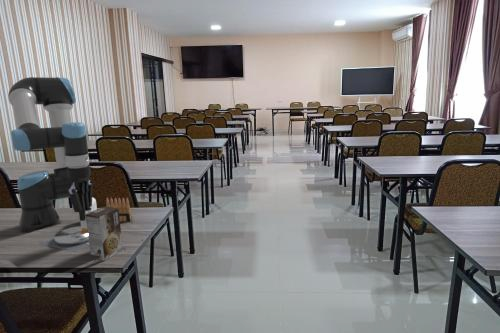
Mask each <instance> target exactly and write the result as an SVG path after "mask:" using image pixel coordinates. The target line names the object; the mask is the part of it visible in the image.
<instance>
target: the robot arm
mask: <svg viewBox="0 0 500 333" xmlns="http://www.w3.org/2000/svg"><path fill="white" fill-rule="evenodd" d="M7 95H8V96H7V97H8V102H9V103H10V105H11V106H12V108H13V114H14V120H15V126H16V129H13V130H11V132H10V134H11V139H12V140H11V141H12V147H13V150H15V151H18V152H19V151H22V152H23V151H26V152H28V151H34V150H35V151H36V150H43V149H44V150H45V149H54V156H55V162H56V166H54V168H53V172H52V173H50V172H49V171H48V170H38V171H37V170H36V171H33V172H29V173H26V174H24V175H21V176H19V178H18V179H17V191H18V195H19V201H20V210H21V214H20V219H19V224H18V226H19V231H21V232H25V233H32V232H36V231H40V230H43V229H48V228H51V227H53V226H56V225H57V226H58V225H60V223H61V219H60V215H59V214H58V212H57V210H56V208H55V206H54V202H53V201H55V200H62V199H69V198H70V199H69V200H70V201H71V205H72V209H73V211H74V213H78V214H79V221H80V226H81V228H87V221H86V214H88V213H89V210H91V208H90V207H91V206H92V197H93V186H94V180H91V179H90V178H89V177H91V175H92V172H91V166H90V157H89V149H88V138H87V133H88V132H87V130H86V125H85V123H84V122H73V121H72V117H71V116H72V115H71V110H72V109H73V108H74V106H73V105H74V104H76V92H75V90H74V87H73V85H72V81H71V80H70V79H69V78H66V77H58V76H55V77H42V76H41V77H40V76H39V77H35V76H34V77H33V76H30V77H24V78H21V79H20V80H18V81H16V82H15V83H14V84H12V86H11V87H10V88H9V92H8V94H7ZM36 105H42V106H43V109H44V110H45V111H46V112H47V114H48V119H49V124H50V127H42V126H41V123H40V120H39V115H38V112H37V107H36Z"/></svg>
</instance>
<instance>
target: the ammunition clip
mask: <svg viewBox="0 0 500 333" xmlns="http://www.w3.org/2000/svg"><path fill="white" fill-rule="evenodd" d="M125 199H126V200H125ZM106 206H107V207H113V208H118V210H119V219H120V222H126V223H130V224H133V217H132V212H131V206H130V201H129V198H128V197H126V198H124V197H122V199H121V198H120V197H118V199H117V197H114V200H113V198H112V197H110V200H109V198H108V197H106Z"/></svg>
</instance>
